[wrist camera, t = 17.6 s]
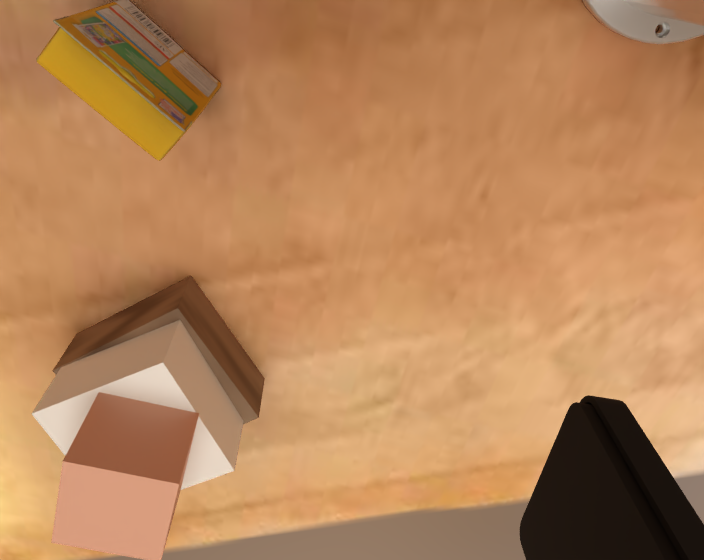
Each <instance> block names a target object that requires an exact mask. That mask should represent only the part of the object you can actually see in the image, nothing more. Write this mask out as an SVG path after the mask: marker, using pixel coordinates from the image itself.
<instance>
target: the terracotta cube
mask: <svg viewBox="0 0 704 560" xmlns="http://www.w3.org/2000/svg"><path fill="white" fill-rule="evenodd" d="M198 416H199V413H195V412H191V411H186V410H181V409H177V408H172V407H167V406H163V405H158V404H153V403H149V402H144V401H139V400H134V399H130V398H125V397H120V396H116V395H111V394H106V393H102V392H99V393H98V395H97V396H96V398H95V400H94V402H93V404H92V406H91V408H90V410H89V412H88V414H87V416H86V418H85V420H84V421H83V423H82V425H81V427H80V429H79V431H78V433H77V435H76V437H75V439H74V441H73V443H72V444H71V446H70V448H69V450H68V452H67V454H66V456H65V458H64V460H63V463H62V471H61V478H60V485H59V492H58V499H57V507H56V514H55V521H54V528H53V535H52V543H56V544H62V545H67V546H73V547H78V548H84V549H89V550H95V551H101V552H106V553H112V554H117V555H123V556H128V557H134V558H140V559H145V560H161V559H162V555H163V551H164V548H165V544H166V540H167V537H168V533H169V530H170V526H171V522H172V519H173V515H174V512H175V508H176V504H177V501H178V497H179V494H180V490H181V486H182V482H183V478H184V474H185V470H186V466H187V462H188V458H189V453H190V449H191V445H192V441H193V437H194V433H195V429H196V425H197V420H198Z"/></svg>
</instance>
